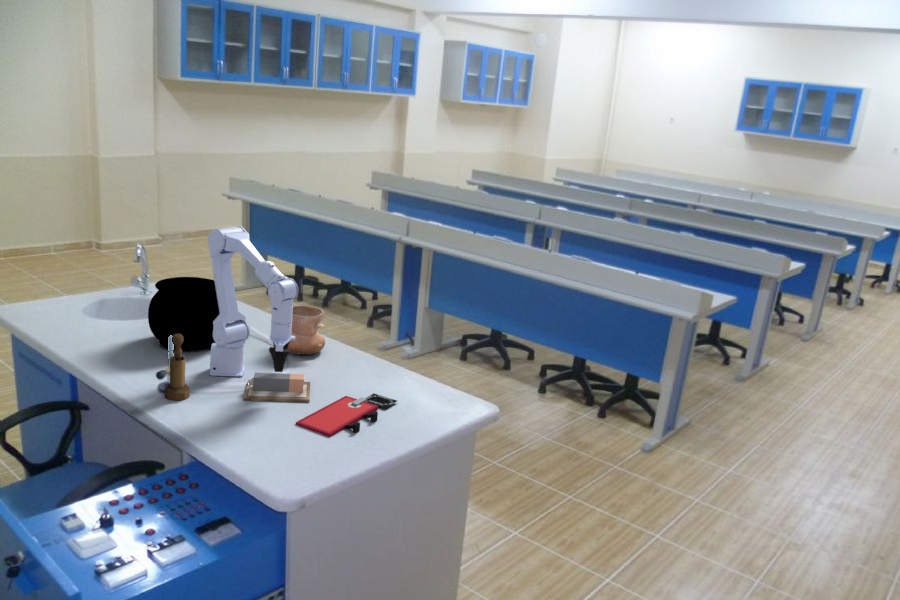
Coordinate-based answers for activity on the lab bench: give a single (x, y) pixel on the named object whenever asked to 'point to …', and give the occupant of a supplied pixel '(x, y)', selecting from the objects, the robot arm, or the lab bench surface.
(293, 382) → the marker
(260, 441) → the lab bench surface
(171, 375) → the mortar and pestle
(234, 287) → the robot arm
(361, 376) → the lab bench surface
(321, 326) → the ceramic jug
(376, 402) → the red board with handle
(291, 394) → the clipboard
